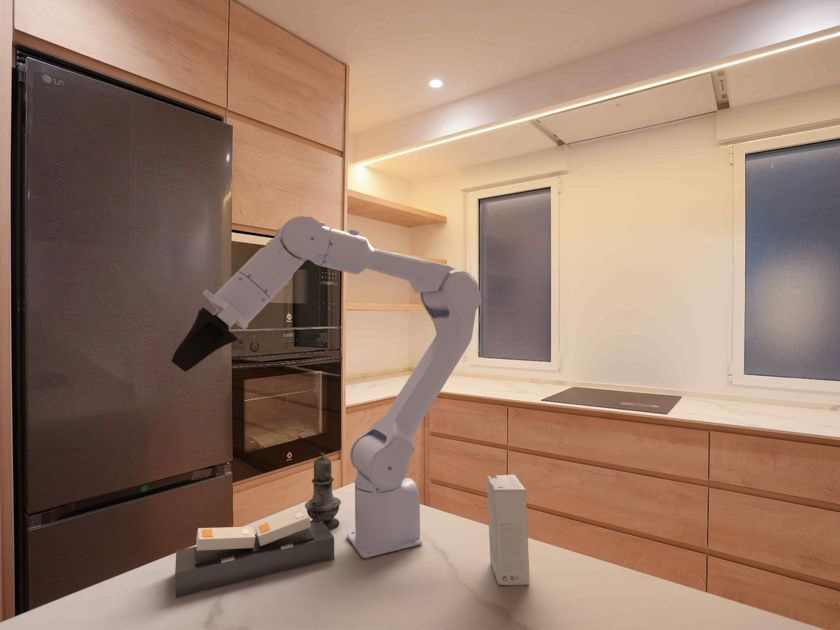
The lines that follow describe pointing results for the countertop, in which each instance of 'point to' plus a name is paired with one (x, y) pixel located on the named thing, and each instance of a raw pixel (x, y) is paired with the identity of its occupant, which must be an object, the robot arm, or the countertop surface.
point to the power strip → (251, 560)
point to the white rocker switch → (225, 538)
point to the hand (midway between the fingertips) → (178, 363)
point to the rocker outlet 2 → (282, 526)
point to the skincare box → (508, 529)
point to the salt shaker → (323, 495)
